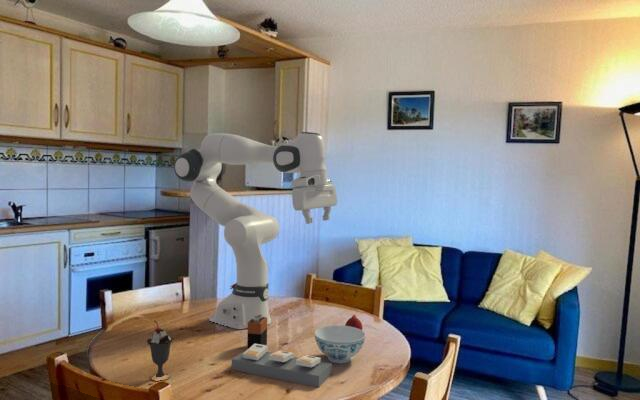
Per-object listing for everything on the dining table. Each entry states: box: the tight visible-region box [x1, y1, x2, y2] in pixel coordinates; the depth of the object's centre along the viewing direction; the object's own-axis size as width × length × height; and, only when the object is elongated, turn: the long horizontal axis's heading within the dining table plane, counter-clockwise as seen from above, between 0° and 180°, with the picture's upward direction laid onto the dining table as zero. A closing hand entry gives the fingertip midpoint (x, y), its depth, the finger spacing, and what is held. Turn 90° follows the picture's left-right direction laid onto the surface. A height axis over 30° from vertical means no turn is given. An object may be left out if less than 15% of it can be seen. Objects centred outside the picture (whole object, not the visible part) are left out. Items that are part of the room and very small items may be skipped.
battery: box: [246, 315, 268, 350], centre depth 151 cm, size 4×7×10 cm, turn 169°
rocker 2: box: [269, 350, 295, 362], centre depth 134 cm, size 4×6×2 cm
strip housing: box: [231, 348, 333, 388], centre depth 134 cm, size 26×9×3 cm, turn 67°
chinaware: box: [314, 324, 366, 364], centre depth 144 cm, size 15×15×8 cm
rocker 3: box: [296, 354, 322, 367], centre depth 131 cm, size 4×6×2 cm
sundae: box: [146, 320, 174, 377], centre depth 128 cm, size 7×7×15 cm
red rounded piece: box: [344, 314, 363, 331], centre depth 163 cm, size 6×6×8 cm
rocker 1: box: [243, 344, 269, 360], centre depth 137 cm, size 4×6×2 cm
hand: (317, 221), depth 163 cm, fingers open, 8 cm apart
